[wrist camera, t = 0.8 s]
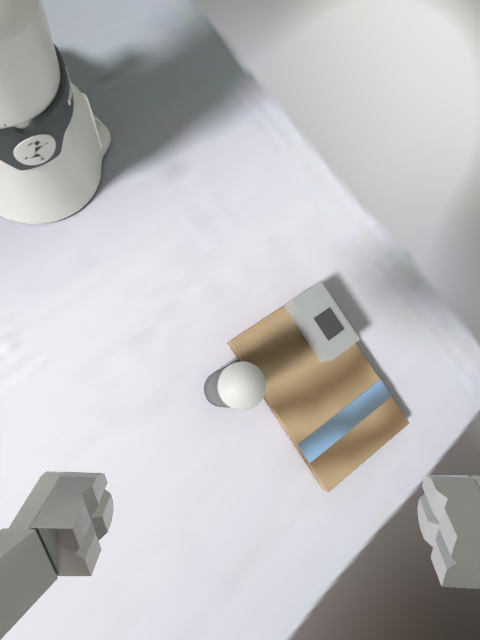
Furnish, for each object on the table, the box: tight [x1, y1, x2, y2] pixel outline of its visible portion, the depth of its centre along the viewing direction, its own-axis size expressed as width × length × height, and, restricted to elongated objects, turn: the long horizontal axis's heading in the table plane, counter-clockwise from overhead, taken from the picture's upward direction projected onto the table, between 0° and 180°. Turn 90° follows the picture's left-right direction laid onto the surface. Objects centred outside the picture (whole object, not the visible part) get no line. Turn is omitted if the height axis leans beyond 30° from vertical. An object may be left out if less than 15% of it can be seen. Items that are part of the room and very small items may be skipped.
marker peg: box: [204, 361, 266, 410], centre depth 40 cm, size 4×4×11 cm
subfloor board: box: [228, 306, 409, 492], centre depth 47 cm, size 20×13×2 cm, turn 34°
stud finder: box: [284, 282, 360, 363], centre depth 46 cm, size 8×4×3 cm, turn 34°
